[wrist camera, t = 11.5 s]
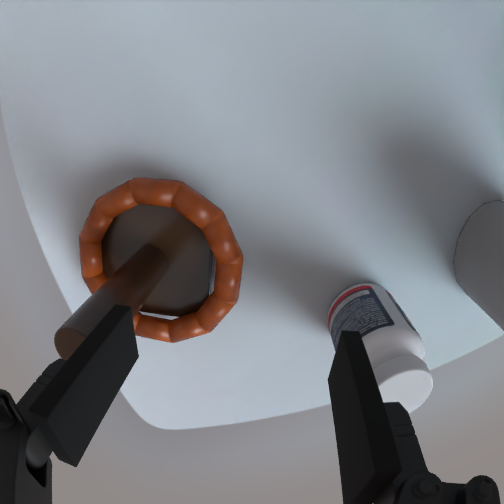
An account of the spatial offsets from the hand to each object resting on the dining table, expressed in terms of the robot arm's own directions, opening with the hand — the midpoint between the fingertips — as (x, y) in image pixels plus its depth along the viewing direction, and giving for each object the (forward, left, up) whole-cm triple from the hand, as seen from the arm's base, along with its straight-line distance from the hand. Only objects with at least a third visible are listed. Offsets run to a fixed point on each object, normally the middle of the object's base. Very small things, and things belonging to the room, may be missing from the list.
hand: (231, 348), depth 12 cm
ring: (0, -6, -7) cm, 9 cm away
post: (0, -6, -9) cm, 11 cm away
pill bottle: (+3, +9, -9) cm, 13 cm away
